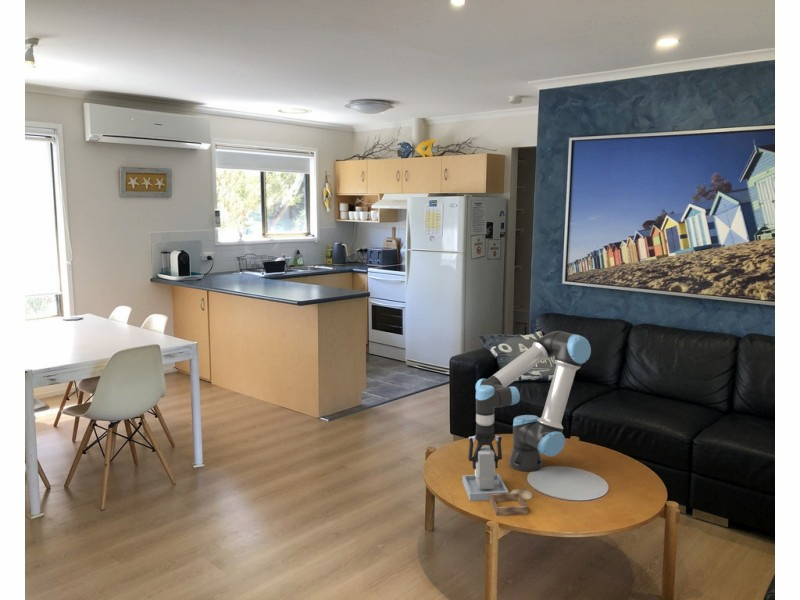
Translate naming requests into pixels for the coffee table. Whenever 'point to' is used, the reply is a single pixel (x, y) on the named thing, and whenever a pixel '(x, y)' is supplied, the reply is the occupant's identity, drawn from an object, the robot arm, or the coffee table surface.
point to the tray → (482, 494)
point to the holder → (508, 510)
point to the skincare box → (485, 468)
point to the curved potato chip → (523, 493)
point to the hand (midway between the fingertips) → (485, 475)
